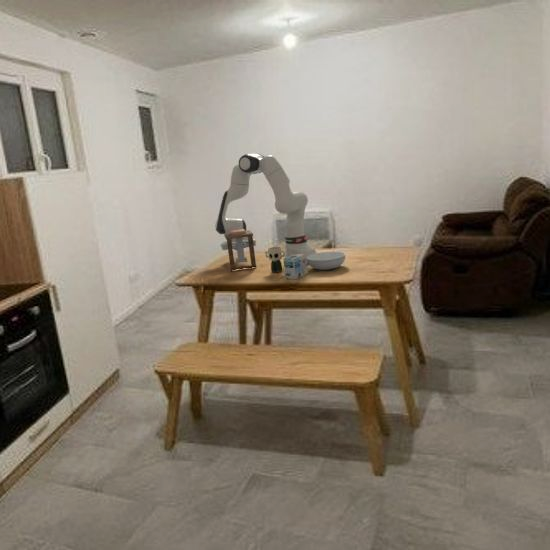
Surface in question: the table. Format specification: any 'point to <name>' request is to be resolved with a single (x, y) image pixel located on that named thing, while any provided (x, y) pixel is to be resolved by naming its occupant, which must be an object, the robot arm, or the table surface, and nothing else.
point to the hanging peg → (239, 246)
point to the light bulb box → (295, 266)
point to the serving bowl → (326, 260)
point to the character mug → (275, 258)
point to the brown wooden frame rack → (230, 250)
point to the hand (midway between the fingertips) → (239, 246)
